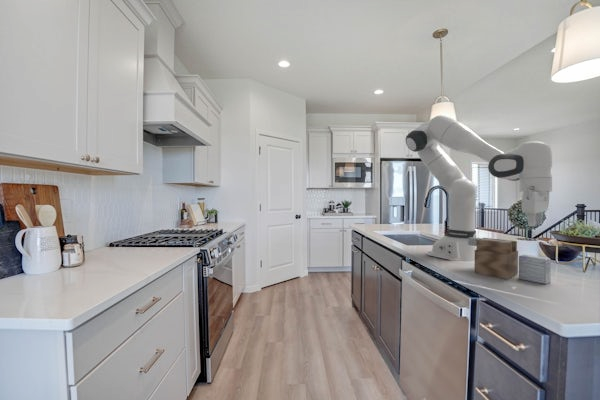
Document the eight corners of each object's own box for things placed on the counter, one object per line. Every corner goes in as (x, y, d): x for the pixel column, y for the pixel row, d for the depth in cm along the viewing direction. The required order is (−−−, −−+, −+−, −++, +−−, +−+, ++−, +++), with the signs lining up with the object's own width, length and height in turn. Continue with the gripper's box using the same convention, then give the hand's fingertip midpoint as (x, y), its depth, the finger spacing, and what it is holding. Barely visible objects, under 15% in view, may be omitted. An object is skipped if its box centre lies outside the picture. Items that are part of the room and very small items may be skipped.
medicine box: (550, 282, 94) (551, 258, 94) (546, 284, 92) (546, 259, 92) (523, 276, 101) (523, 254, 101) (518, 278, 98) (518, 255, 98)
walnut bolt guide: (474, 272, 106) (474, 240, 106) (485, 267, 113) (485, 237, 113) (508, 279, 97) (509, 244, 97) (517, 273, 105) (518, 240, 105)
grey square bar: (468, 245, 112) (468, 237, 112) (471, 244, 113) (471, 237, 113) (509, 250, 101) (509, 242, 101) (511, 249, 102) (512, 241, 102)
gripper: (540, 185, 87) (540, 228, 87) (552, 186, 100) (552, 223, 100) (515, 186, 92) (515, 226, 92) (530, 187, 104) (530, 222, 105)
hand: (535, 225), depth 96 cm, fingers open, 8 cm apart
